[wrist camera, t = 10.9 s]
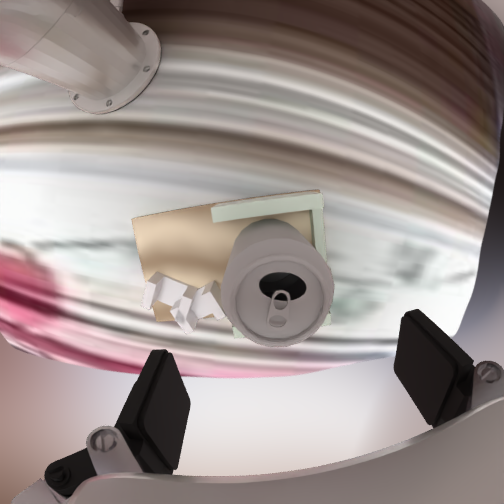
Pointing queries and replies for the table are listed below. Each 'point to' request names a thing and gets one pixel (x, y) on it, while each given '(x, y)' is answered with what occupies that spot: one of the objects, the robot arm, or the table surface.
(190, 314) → the clip
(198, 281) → the board
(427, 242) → the table surface
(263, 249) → the can
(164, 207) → the table surface
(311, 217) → the bracket
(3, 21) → the robot arm
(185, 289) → the clip
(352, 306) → the table surface
